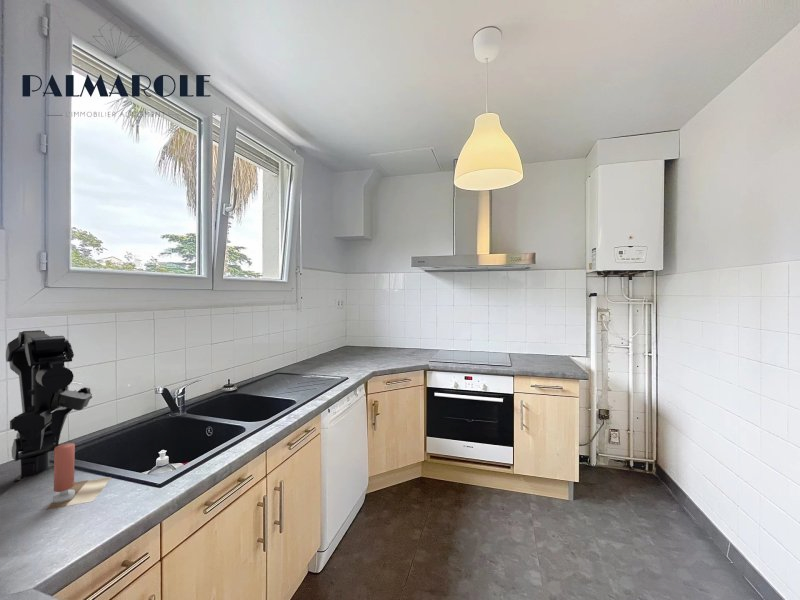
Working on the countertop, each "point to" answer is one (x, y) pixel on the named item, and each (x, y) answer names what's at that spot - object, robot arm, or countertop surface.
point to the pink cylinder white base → (64, 473)
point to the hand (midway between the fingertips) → (47, 442)
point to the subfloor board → (83, 492)
